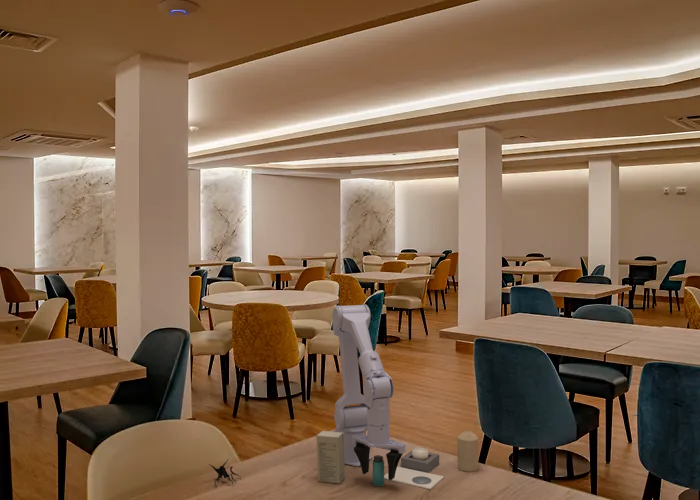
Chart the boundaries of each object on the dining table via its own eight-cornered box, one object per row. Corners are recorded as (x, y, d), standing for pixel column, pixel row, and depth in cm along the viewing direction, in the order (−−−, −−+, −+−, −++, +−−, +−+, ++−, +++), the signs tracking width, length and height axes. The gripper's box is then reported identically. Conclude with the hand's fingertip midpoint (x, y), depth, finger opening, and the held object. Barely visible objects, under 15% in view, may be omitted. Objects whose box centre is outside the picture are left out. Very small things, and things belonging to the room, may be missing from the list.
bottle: (370, 484, 161) (370, 457, 161) (376, 480, 164) (376, 454, 163) (380, 487, 159) (380, 459, 159) (386, 483, 162) (386, 456, 162)
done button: (409, 462, 173) (409, 451, 173) (416, 457, 177) (416, 446, 177) (424, 465, 171) (424, 454, 171) (430, 460, 175) (430, 449, 175)
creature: (246, 486, 163) (229, 471, 169) (249, 467, 162) (231, 453, 168) (220, 495, 158) (203, 479, 163) (223, 475, 157) (206, 460, 162)
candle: (478, 472, 169) (478, 436, 169) (457, 471, 170) (457, 434, 170) (478, 465, 174) (478, 429, 174) (457, 463, 175) (458, 428, 175)
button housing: (400, 467, 173) (400, 458, 173) (413, 458, 179) (413, 449, 179) (427, 473, 168) (427, 463, 168) (439, 463, 175) (439, 454, 175)
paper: (381, 478, 165) (381, 476, 165) (396, 467, 173) (396, 465, 173) (430, 489, 158) (430, 488, 158) (444, 477, 165) (444, 476, 165)
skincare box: (345, 478, 165) (345, 432, 165) (339, 484, 161) (339, 437, 161) (322, 475, 167) (322, 429, 167) (316, 481, 163) (316, 434, 163)
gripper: (346, 422, 161) (346, 475, 162) (396, 432, 154) (396, 486, 154) (359, 416, 167) (360, 466, 168) (409, 424, 160) (409, 477, 160)
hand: (378, 475), depth 161 cm, fingers open, 7 cm apart
